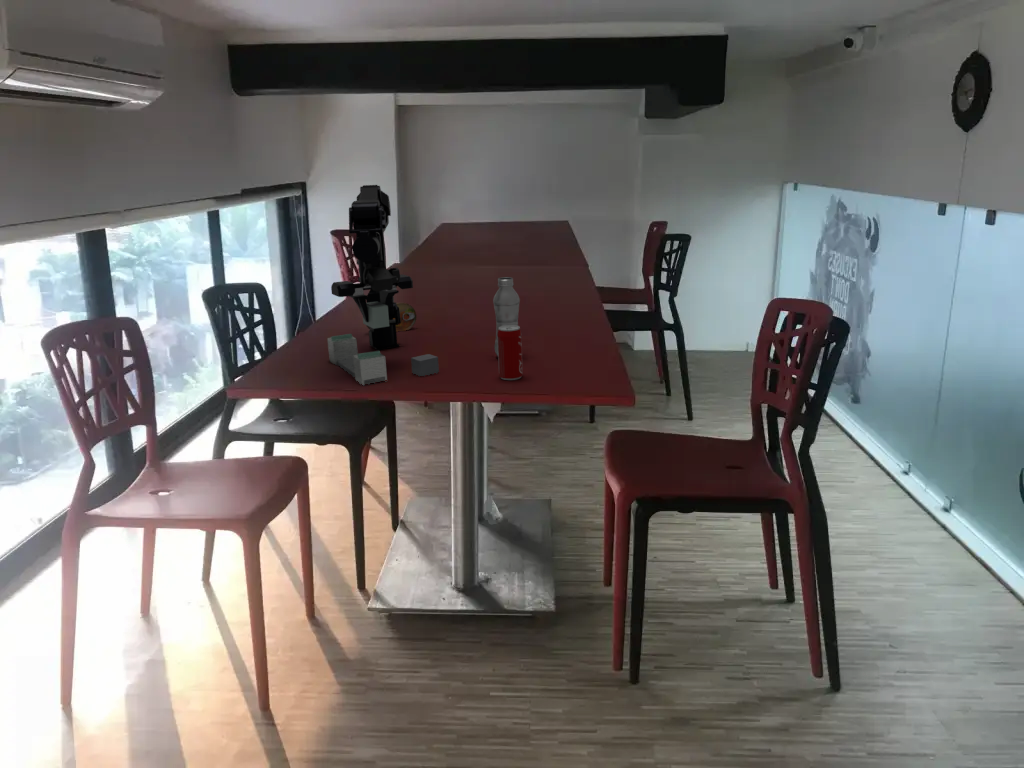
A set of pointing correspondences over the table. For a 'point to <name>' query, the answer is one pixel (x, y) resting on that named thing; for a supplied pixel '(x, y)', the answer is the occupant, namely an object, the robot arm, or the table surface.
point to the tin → (405, 317)
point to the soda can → (510, 352)
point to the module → (377, 315)
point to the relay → (424, 365)
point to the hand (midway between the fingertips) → (375, 320)
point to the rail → (357, 359)
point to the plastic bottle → (505, 305)
